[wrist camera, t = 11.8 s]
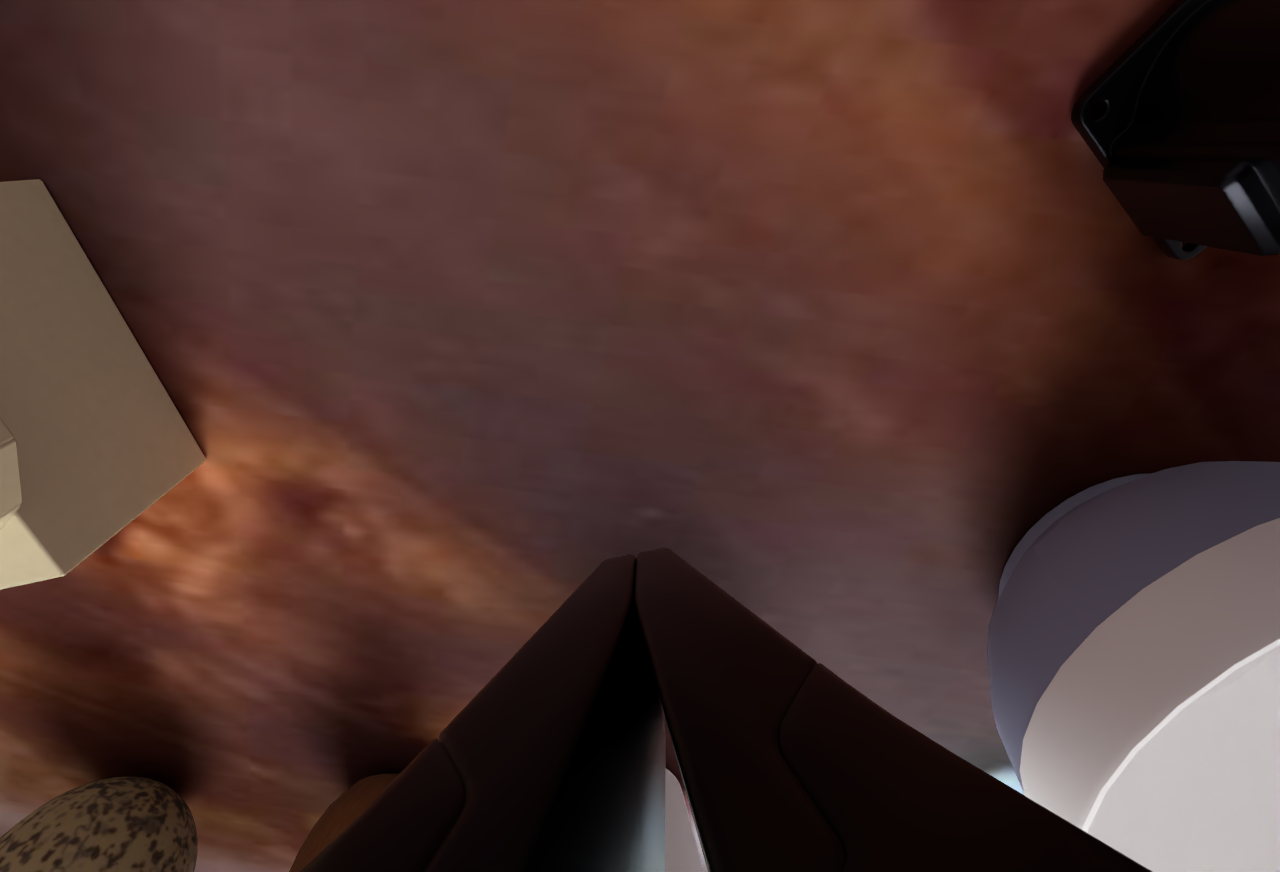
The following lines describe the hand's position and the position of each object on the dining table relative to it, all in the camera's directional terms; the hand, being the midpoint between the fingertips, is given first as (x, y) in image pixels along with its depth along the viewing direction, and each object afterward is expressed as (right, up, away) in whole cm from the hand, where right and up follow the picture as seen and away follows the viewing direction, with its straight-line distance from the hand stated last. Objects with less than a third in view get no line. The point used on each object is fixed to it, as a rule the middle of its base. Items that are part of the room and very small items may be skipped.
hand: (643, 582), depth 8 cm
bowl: (+19, -4, +17) cm, 26 cm away
